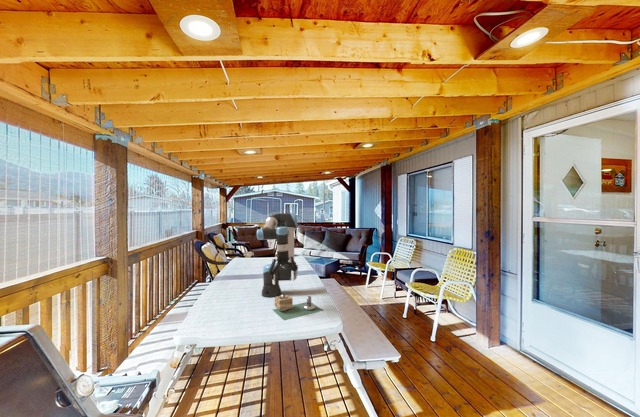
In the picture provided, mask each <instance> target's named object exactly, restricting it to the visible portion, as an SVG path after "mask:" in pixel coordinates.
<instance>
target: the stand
mask: <svg viewBox="0 0 640 417" xmlns="http://www.w3.org/2000/svg"><path fill="white" fill-rule="evenodd" d="M285 295H286V294H285V293H281V295H280V296H281V299H285ZM277 309H278V308H277ZM278 310H279V309H278ZM288 310H289V308H288V309H283V310H279V311H281V312H285V311H288Z"/></svg>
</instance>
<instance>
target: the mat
mask: <svg viewBox="0 0 640 417" xmlns="http://www.w3.org/2000/svg"><path fill="white" fill-rule="evenodd" d="M305 304H307V301H306V302H305V301H304V302H301V303H296V304H293V307H292V308H289V310H288V311H285V312H281V311H279V310H278V308H274V309H272V311H273V312H274V313H275V314H276V315H278V317H280V318H281V319H282V321H287V320H292V319H296V318H299V317H304V316H308V315H312V314H316V313H320V312H323V311H324V309H322V308H321V307H319V306H318V305H316V304H315V310H313V311H305V310H304V309H303V305H305ZM311 304H314V303H312V302H311Z"/></svg>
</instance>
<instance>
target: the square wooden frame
mask: <svg viewBox="0 0 640 417" xmlns="http://www.w3.org/2000/svg"><path fill="white" fill-rule="evenodd" d="M293 300H294V299H293V297H291V296H290V295H288V294H285V299H281V295H279V296H276V297H274V307H275V308H276V309H279V310H283V309H288V308H292V307H293V305H294V304H293V302H294V301H293Z"/></svg>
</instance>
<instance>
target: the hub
mask: <svg viewBox="0 0 640 417" xmlns="http://www.w3.org/2000/svg"><path fill="white" fill-rule="evenodd" d="M306 302H307V304H305V305H303V309H304V310H305V311H313V310H315V305H316V304H314V303H313V304H311V303H312V296H311V295H308V296H306Z"/></svg>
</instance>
